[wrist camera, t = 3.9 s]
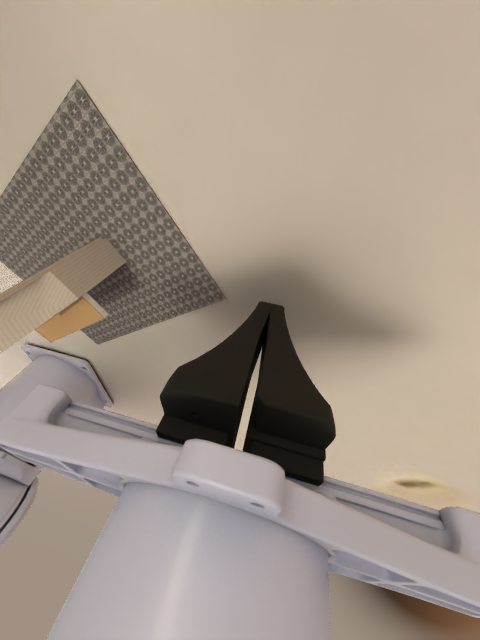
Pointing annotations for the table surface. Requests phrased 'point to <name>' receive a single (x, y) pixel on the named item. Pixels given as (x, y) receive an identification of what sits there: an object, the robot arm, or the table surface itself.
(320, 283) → the table surface
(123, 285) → the architectural model
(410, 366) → the table surface
